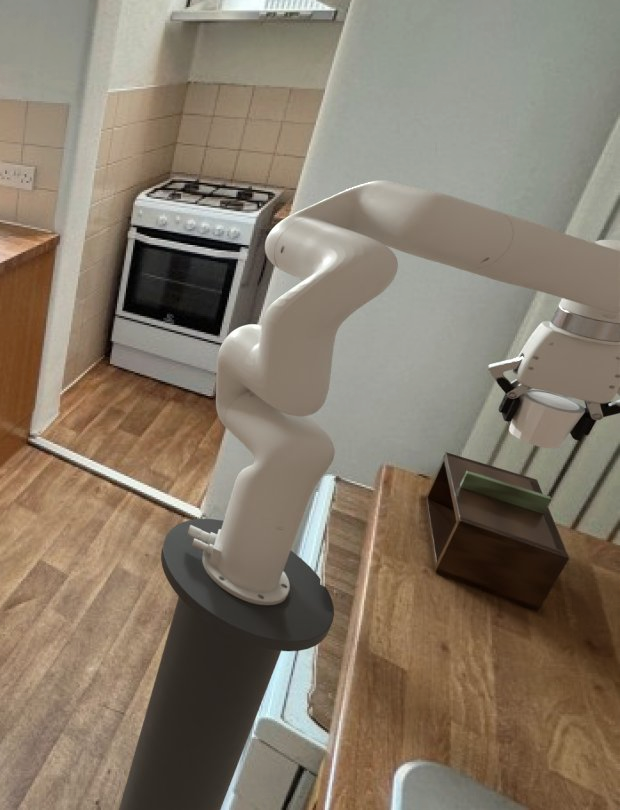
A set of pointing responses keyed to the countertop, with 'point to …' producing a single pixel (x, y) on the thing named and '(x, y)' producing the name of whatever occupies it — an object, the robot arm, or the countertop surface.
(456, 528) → the tray
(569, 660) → the countertop surface
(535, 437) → the white cylinder
